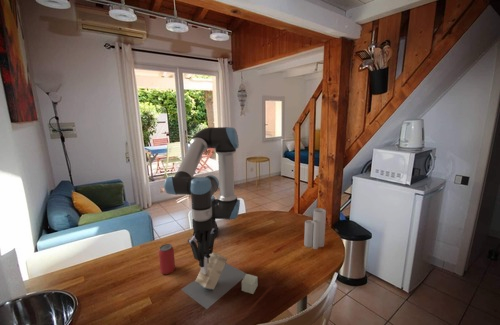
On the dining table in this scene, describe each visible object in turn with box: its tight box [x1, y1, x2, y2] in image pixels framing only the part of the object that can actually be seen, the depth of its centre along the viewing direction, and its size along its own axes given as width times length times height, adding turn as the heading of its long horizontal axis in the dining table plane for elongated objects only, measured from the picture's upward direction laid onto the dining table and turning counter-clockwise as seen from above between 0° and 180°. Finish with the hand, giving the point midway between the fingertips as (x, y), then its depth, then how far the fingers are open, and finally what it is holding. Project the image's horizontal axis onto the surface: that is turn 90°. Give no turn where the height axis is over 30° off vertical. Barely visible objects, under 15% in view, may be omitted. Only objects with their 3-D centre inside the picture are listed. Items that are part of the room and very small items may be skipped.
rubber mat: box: [181, 262, 247, 310], centre depth 98 cm, size 16×24×1 cm, turn 142°
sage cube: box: [241, 273, 259, 295], centre depth 94 cm, size 5×5×5 cm
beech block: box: [195, 251, 228, 290], centre depth 95 cm, size 6×6×13 cm
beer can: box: [158, 243, 176, 275], centre depth 106 cm, size 7×7×12 cm
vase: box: [303, 207, 327, 250], centre depth 124 cm, size 11×7×20 cm, turn 112°
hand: (204, 272), depth 92 cm, fingers closed
